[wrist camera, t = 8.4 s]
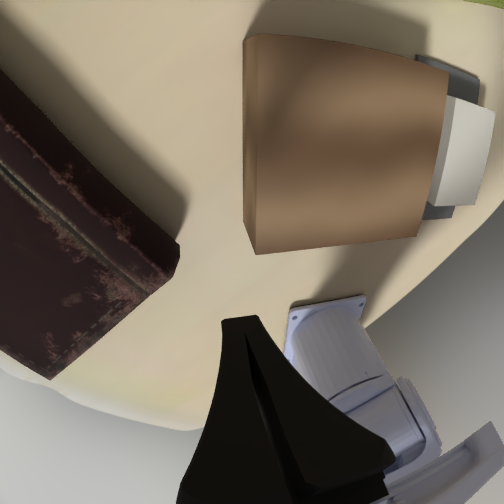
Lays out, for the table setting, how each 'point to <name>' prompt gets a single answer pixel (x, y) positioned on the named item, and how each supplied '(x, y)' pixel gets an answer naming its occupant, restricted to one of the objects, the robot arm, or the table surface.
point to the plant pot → (489, 2)
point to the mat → (461, 89)
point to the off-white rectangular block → (461, 153)
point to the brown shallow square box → (335, 142)
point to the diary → (65, 244)
